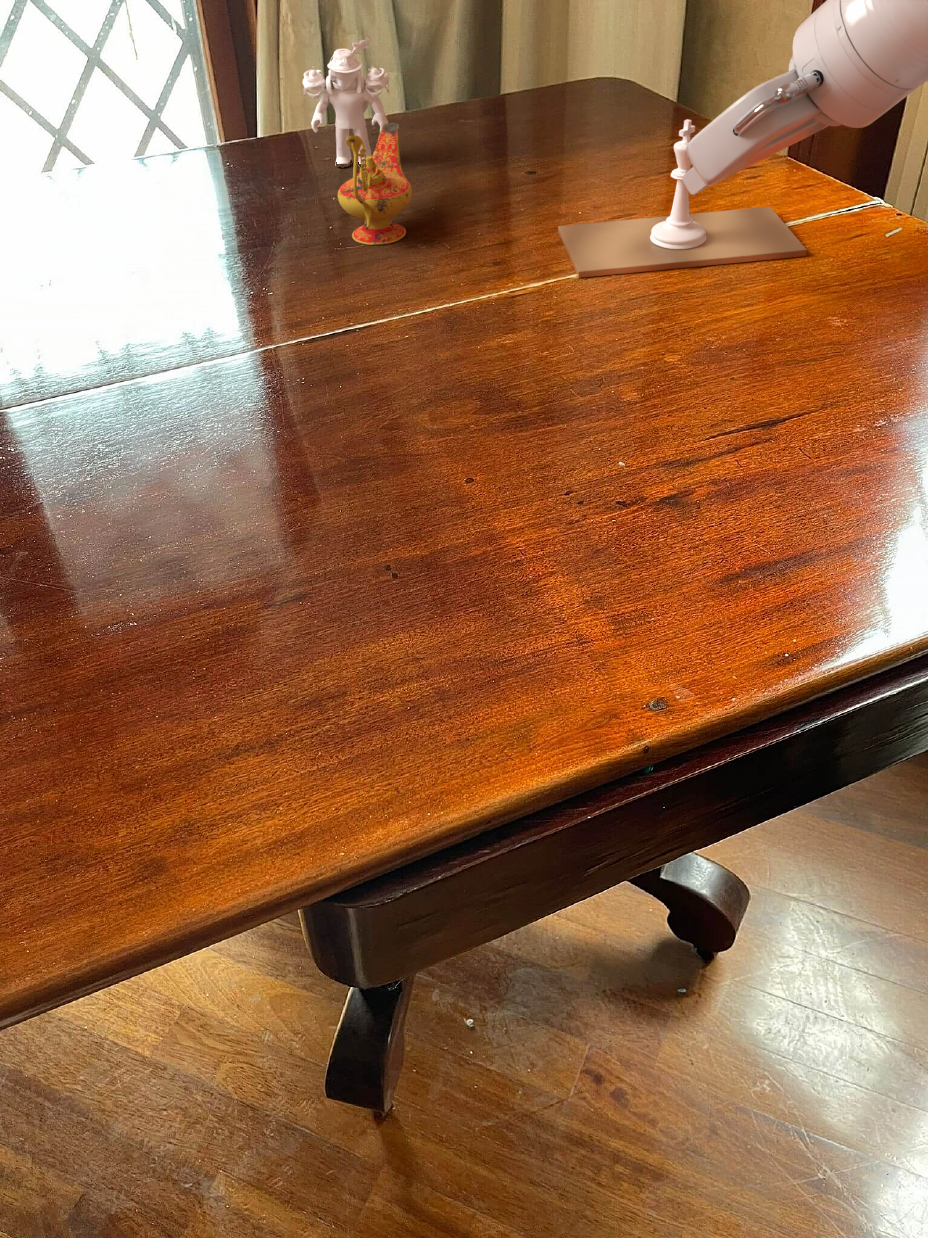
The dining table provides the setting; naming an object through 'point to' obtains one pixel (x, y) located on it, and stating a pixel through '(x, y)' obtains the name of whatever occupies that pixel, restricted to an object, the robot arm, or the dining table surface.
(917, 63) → the robot arm
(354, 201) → the magic lamp
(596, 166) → the dining table surface
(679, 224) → the chess piece
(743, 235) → the cork board
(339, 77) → the flower shoulder figurine
